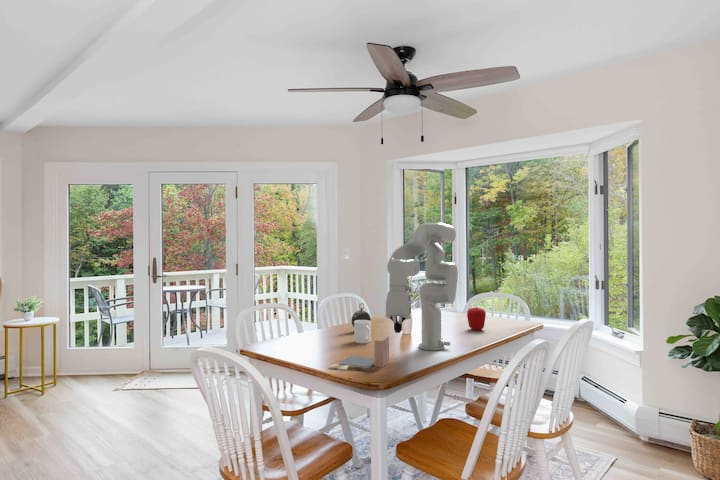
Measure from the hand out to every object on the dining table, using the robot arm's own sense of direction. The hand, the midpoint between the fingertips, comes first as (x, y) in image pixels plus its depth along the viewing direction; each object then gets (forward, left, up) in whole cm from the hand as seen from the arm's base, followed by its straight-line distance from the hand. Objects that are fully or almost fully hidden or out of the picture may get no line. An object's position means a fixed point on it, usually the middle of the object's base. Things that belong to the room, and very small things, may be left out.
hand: (397, 332), depth 193 cm
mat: (+17, -1, -14) cm, 22 cm away
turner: (+18, +10, -14) cm, 25 cm away
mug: (+27, -36, -15) cm, 47 cm away
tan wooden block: (+7, -1, -14) cm, 16 cm away
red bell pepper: (-25, -86, -14) cm, 90 cm away
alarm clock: (+37, -61, -14) cm, 73 cm away
